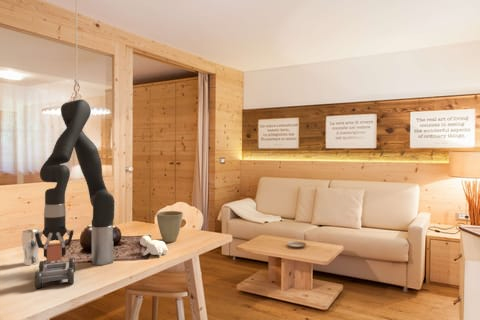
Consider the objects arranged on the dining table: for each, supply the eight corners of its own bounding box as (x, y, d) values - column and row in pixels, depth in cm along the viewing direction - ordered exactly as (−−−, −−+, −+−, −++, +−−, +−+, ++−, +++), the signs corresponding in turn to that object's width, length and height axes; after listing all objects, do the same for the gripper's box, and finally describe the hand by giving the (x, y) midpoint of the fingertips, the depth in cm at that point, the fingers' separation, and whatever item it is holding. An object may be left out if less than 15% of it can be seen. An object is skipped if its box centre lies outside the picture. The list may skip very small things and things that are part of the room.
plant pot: (186, 238, 206) (186, 211, 205) (177, 245, 191) (177, 216, 190) (162, 236, 208) (162, 210, 208) (151, 243, 194) (152, 215, 193)
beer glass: (27, 260, 162) (26, 229, 161) (42, 260, 163) (42, 228, 162) (18, 266, 155) (18, 232, 154) (35, 265, 156) (34, 232, 155)
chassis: (74, 269, 152) (74, 255, 151) (73, 285, 134) (73, 270, 134) (40, 273, 146) (40, 259, 146) (34, 290, 129) (34, 274, 129)
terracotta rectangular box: (62, 255, 143) (62, 242, 142) (61, 260, 137) (61, 246, 137) (48, 256, 141) (48, 243, 140) (46, 261, 135) (46, 247, 135)
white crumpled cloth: (166, 258, 177) (144, 244, 182) (171, 244, 176) (149, 230, 181) (155, 264, 169) (133, 249, 175) (161, 248, 168) (138, 234, 173)
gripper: (75, 212, 144) (75, 252, 145) (35, 214, 139) (35, 256, 139) (74, 215, 138) (74, 258, 138) (32, 217, 132) (32, 261, 133)
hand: (54, 256), depth 139 cm, fingers closed on terracotta rectangular box, 5 cm apart
